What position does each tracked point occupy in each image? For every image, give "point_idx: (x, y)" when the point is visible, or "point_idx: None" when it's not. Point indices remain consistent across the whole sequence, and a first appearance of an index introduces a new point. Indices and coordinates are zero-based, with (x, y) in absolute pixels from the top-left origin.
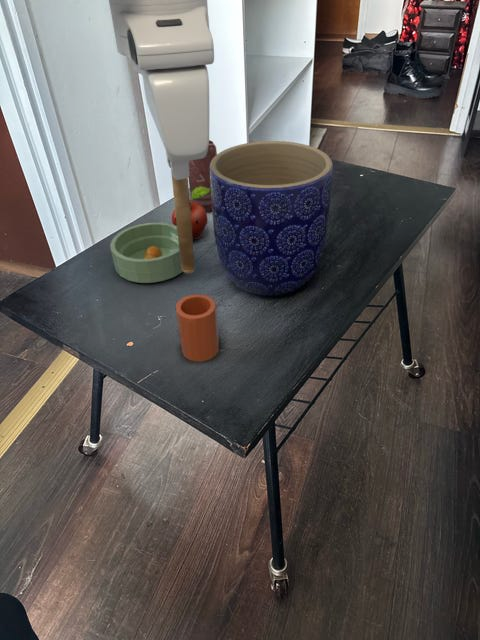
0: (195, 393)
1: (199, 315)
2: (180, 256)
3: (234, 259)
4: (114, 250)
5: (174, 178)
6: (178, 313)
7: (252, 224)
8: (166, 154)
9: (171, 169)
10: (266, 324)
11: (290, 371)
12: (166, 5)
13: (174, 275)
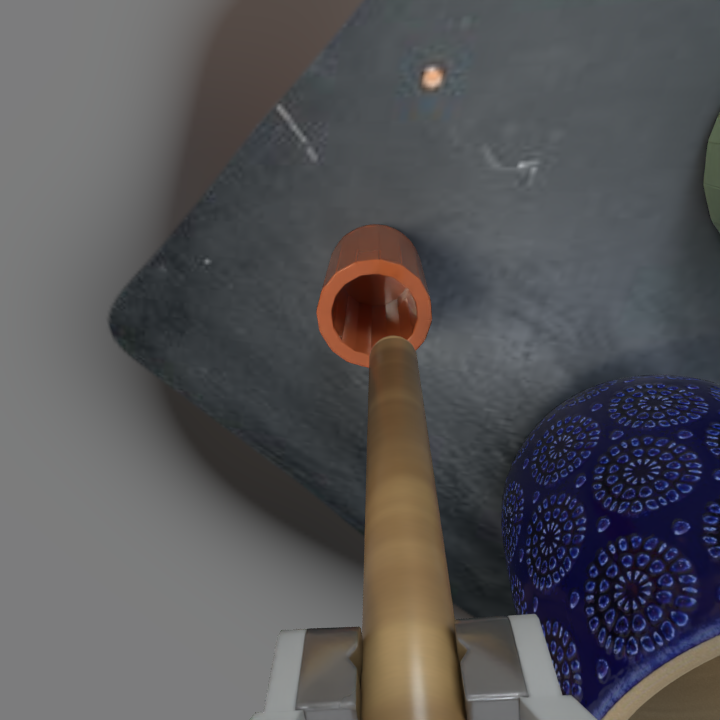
0: (230, 247)
1: (328, 322)
2: (384, 360)
3: (578, 441)
4: None
5: (279, 633)
6: (347, 266)
7: (567, 578)
8: (542, 666)
9: (328, 656)
10: (431, 424)
11: (276, 440)
12: None
13: (713, 220)
